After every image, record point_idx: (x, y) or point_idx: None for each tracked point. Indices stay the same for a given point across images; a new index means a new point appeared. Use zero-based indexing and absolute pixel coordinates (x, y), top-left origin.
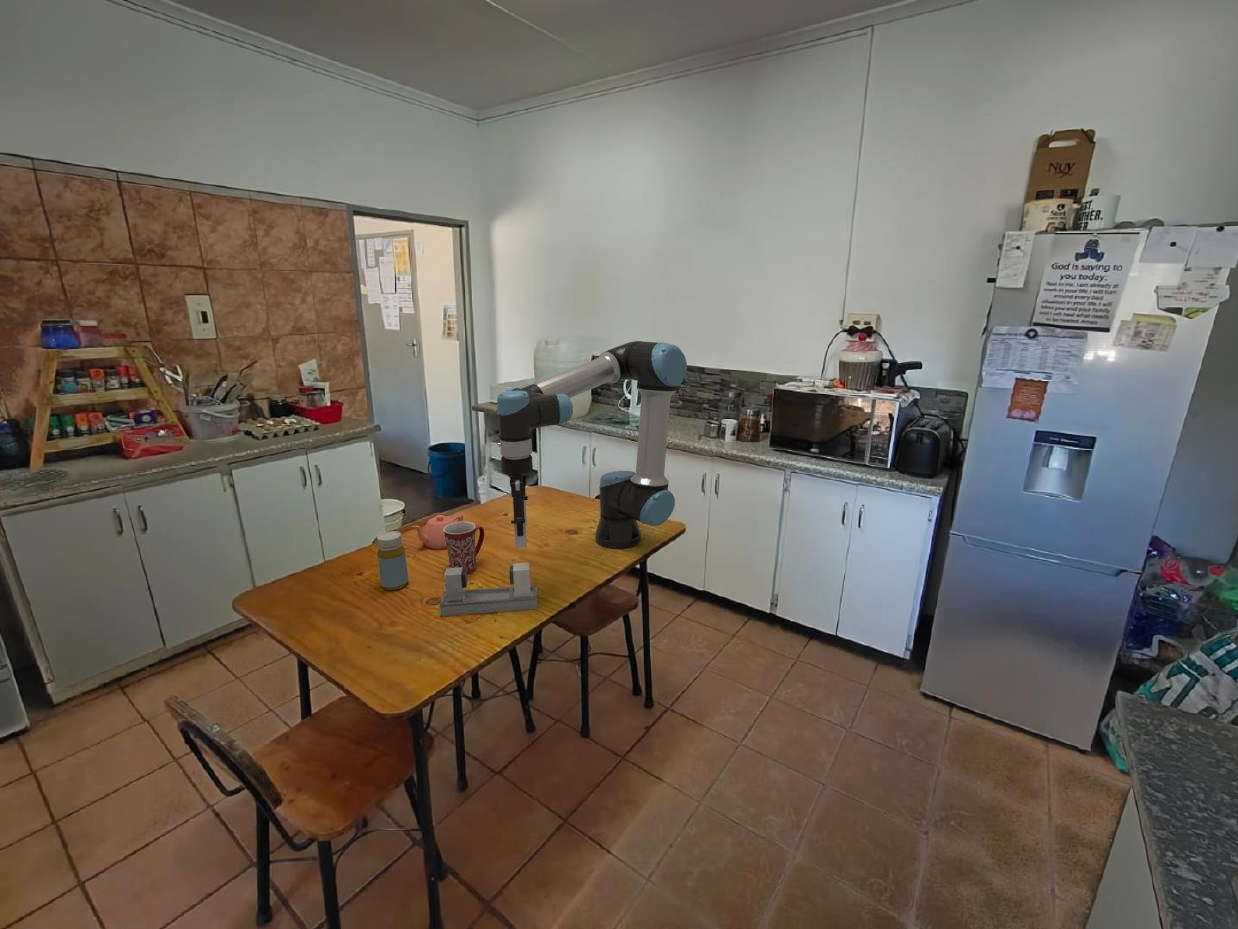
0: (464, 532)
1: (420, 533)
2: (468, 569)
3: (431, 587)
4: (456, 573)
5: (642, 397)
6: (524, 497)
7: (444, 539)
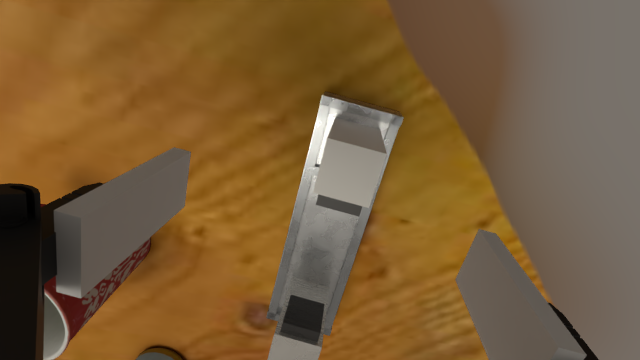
0: None
1: None
2: None
3: (195, 310)
4: (310, 355)
5: None
6: (38, 252)
7: None
